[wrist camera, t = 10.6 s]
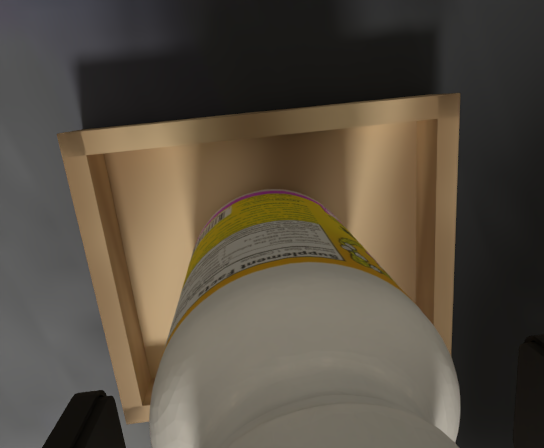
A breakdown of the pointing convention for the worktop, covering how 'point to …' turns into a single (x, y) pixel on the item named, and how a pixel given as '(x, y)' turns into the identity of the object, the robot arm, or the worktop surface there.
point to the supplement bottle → (297, 341)
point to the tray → (253, 177)
